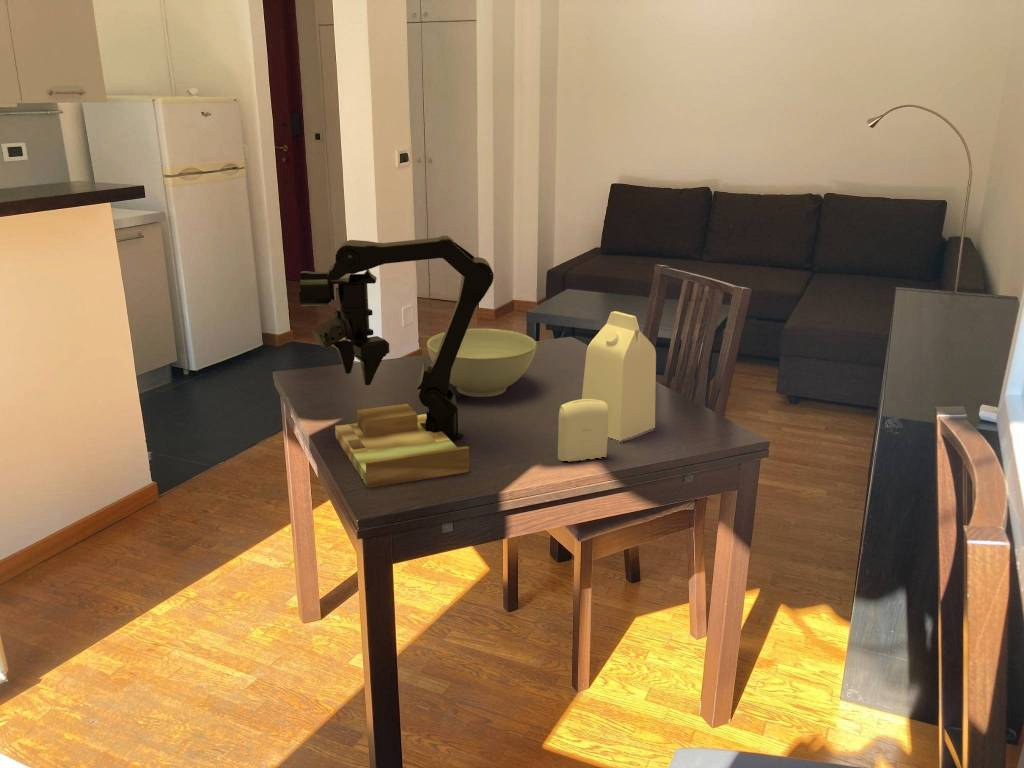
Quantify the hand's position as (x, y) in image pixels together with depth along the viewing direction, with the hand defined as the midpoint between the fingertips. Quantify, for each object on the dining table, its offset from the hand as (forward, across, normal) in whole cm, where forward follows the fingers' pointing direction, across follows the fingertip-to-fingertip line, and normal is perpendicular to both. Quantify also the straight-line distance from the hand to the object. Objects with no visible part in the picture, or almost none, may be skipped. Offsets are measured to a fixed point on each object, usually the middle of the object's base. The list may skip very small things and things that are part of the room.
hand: (357, 379), depth 177 cm
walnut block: (+11, +3, +5) cm, 12 cm away
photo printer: (+14, +33, +33) cm, 49 cm away
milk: (+14, +25, +50) cm, 57 cm away
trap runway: (+14, +11, +3) cm, 17 cm away
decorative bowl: (+14, -14, +40) cm, 44 cm away
